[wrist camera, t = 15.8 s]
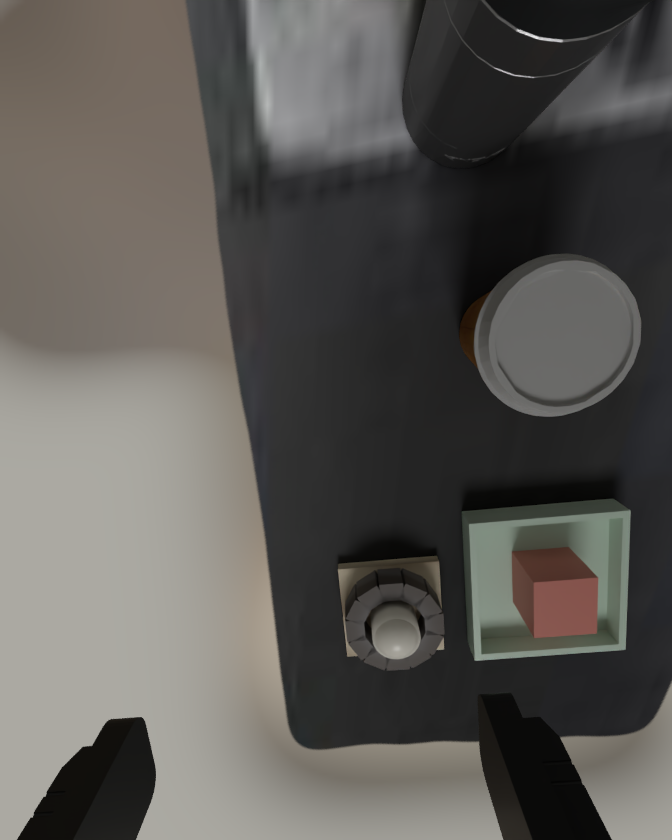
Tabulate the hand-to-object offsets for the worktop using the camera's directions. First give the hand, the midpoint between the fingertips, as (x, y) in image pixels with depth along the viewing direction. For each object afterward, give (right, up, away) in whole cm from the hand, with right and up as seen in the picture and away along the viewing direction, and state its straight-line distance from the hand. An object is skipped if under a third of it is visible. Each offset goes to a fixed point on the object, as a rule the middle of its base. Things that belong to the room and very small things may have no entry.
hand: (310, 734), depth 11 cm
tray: (+19, -6, +32) cm, 38 cm away
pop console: (+6, -10, +33) cm, 35 cm away
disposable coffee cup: (+14, +15, +28) cm, 34 cm away
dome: (+6, -10, +31) cm, 33 cm away
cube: (+19, -6, +31) cm, 37 cm away
